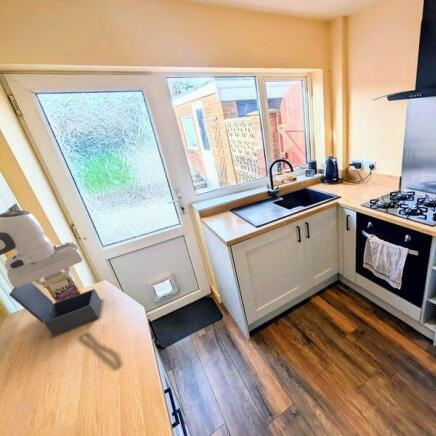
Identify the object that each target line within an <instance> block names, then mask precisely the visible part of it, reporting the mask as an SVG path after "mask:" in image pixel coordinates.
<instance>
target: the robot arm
mask: <svg viewBox="0 0 436 436" xmlns="http://www.w3.org/2000/svg"><path fill="white" fill-rule="evenodd" d="M13 250H14V251H16V253H14V255H12V256H10V257H8V258H7V259H6V260H5V261H4V268H5V269H6V270H7V271H6V272H7V274H6V275H7V279H8V281H9V283H10V284H11V286H12V287H13V288H14V287H17V288H18V287H21V286H23V285H26V284H28V283H31V282H32V283H33V282H35V284H37V285H41V286H42V287H43V288H44V289H47V287H49V286H48V285H47V283H46V282H43V280H41V279H42V278H43V279H44V277H45V276H48V275H50V274H53V273H55V272H58V271H60V270H61V271H63V270H64V272H65V271H66V273H65V274H63V275H64V277H65V279H68V278H70V276H69V270H70V267H73V266H75V265H78V264H80V263H82V262H83V257H82V255H81V254H80V252H79V251H78V246H77V244H76V243H75V242H73V241H66V242H64V243H62V244H57V245H55V246H54V245H53V243H52V241H51V240H50V239H49V237H47V235H46V234H45V230H44V227H42V225H41V224H40V222H39V220H38V219H37V218H36V217H35V215H34V214H32V213H31V212H29V211H27V210H11V211H6V212H3V213H0V256H2V255H5V254H7V253H10V252H11V251H13ZM70 271H71V270H70Z"/></svg>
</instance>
